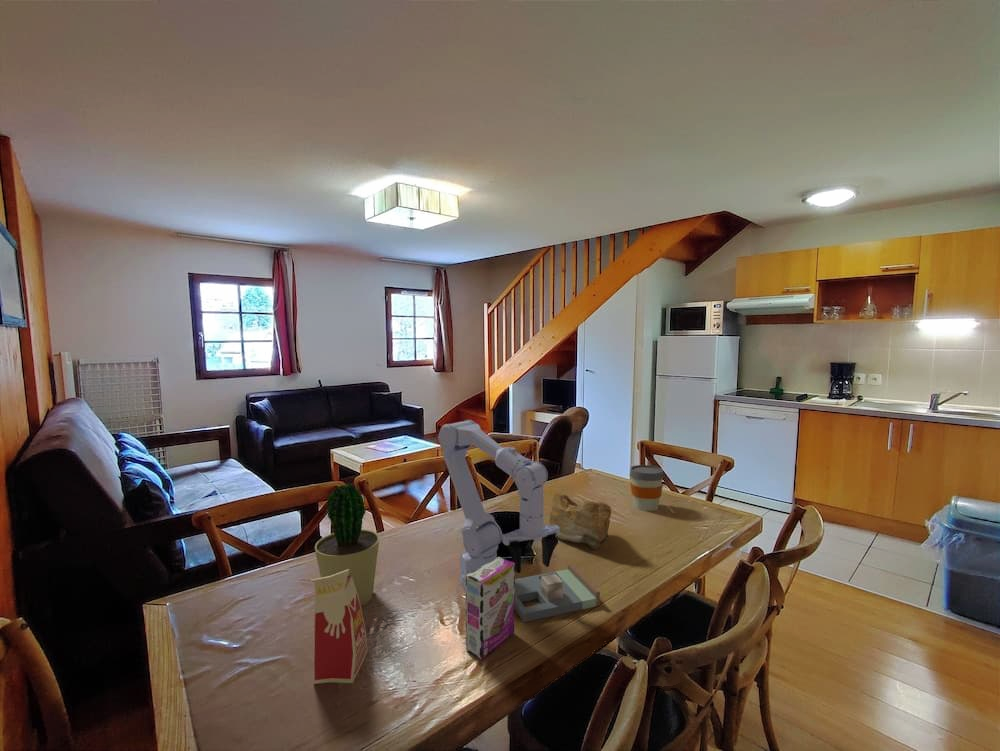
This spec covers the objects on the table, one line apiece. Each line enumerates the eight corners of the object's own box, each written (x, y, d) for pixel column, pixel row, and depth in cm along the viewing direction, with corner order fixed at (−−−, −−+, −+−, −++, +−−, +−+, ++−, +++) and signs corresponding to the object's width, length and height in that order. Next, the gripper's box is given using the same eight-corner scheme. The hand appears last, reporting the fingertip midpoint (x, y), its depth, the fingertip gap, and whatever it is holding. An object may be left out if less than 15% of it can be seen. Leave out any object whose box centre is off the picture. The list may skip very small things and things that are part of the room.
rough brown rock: (633, 547, 141) (634, 500, 142) (599, 558, 131) (600, 507, 131) (577, 526, 160) (579, 485, 160) (544, 535, 150) (546, 490, 150)
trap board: (523, 622, 102) (523, 607, 102) (502, 588, 117) (502, 575, 116) (599, 605, 109) (599, 591, 108) (571, 575, 123) (571, 563, 123)
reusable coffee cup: (623, 503, 178) (623, 466, 177) (649, 499, 182) (650, 463, 181) (641, 514, 166) (642, 475, 165) (670, 510, 170) (670, 471, 169)
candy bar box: (482, 661, 90) (481, 583, 89) (464, 651, 93) (463, 575, 92) (516, 633, 98) (515, 561, 97) (498, 624, 102) (498, 555, 100)
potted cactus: (377, 577, 123) (374, 470, 121) (384, 607, 109) (380, 487, 107) (317, 588, 117) (313, 477, 115) (316, 622, 103) (311, 495, 101)
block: (547, 600, 107) (547, 584, 107) (541, 592, 111) (541, 576, 111) (562, 597, 109) (562, 581, 108) (555, 589, 112) (555, 573, 112)
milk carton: (367, 650, 94) (364, 558, 92) (355, 683, 84) (351, 581, 83) (323, 651, 93) (320, 559, 92) (306, 685, 84) (302, 583, 83)
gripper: (510, 524, 101) (510, 581, 102) (566, 514, 106) (566, 569, 107) (499, 513, 108) (499, 567, 109) (552, 505, 113) (552, 556, 114)
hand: (531, 567), depth 108 cm, fingers open, 7 cm apart
